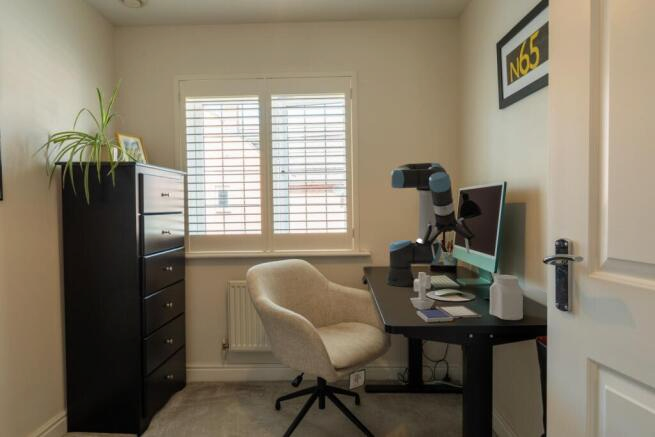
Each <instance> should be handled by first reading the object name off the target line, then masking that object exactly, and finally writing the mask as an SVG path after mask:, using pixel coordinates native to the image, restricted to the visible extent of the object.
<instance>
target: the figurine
mask: <svg viewBox="0 0 655 437" xmlns="http://www.w3.org/2000/svg"><path fill="white" fill-rule="evenodd" d="M414 279H415V280H414V285H413V291H414V292H418V297H411V298H409V299H410V301H411V303H412V305H413V307H414V308H415V309H417V310H418V311H422V310H431V309H432V308H431V307H432V306H433V305H434V303H435V302H436V300H434V299H432V298H429V297H426V296H427V293H426V292H427V290H429V289H431V287H432V277H431V275H428V274H427V273H426V272H424V271H423V272H422V271H420V272H418V276H417V278H414Z"/></svg>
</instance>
